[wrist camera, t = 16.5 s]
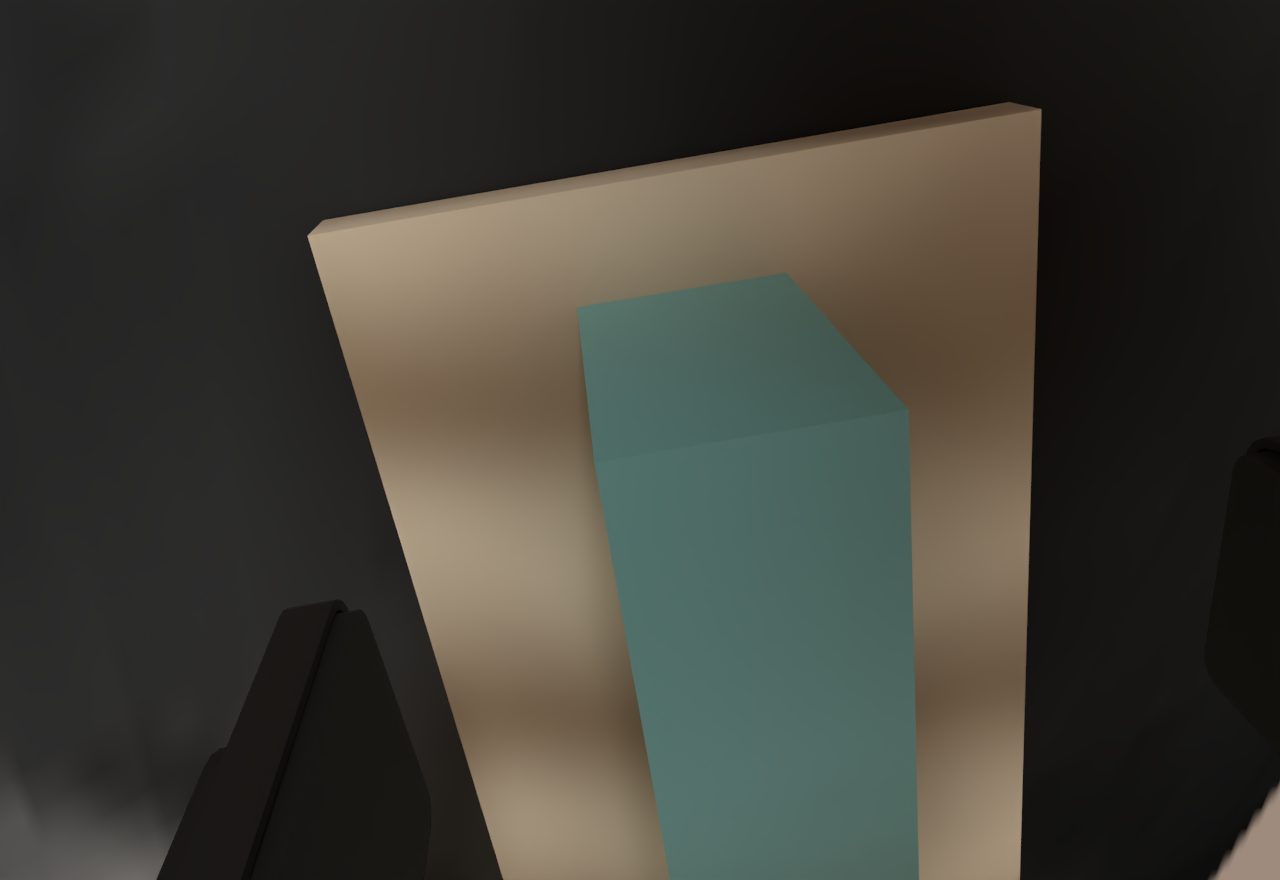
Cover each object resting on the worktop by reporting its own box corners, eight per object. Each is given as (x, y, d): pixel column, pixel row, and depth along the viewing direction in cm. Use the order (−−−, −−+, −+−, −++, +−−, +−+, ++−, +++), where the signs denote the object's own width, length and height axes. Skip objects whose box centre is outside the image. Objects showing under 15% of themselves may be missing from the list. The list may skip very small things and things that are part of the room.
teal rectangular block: (577, 307, 13) (593, 462, 9) (786, 272, 14) (908, 410, 9) (692, 963, 19) (738, 1255, 15) (837, 936, 19) (926, 1221, 15)
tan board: (323, 220, 14) (307, 236, 13) (1008, 102, 14) (1041, 109, 13) (558, 1020, 21) (559, 1065, 20) (996, 936, 21) (1017, 977, 21)
